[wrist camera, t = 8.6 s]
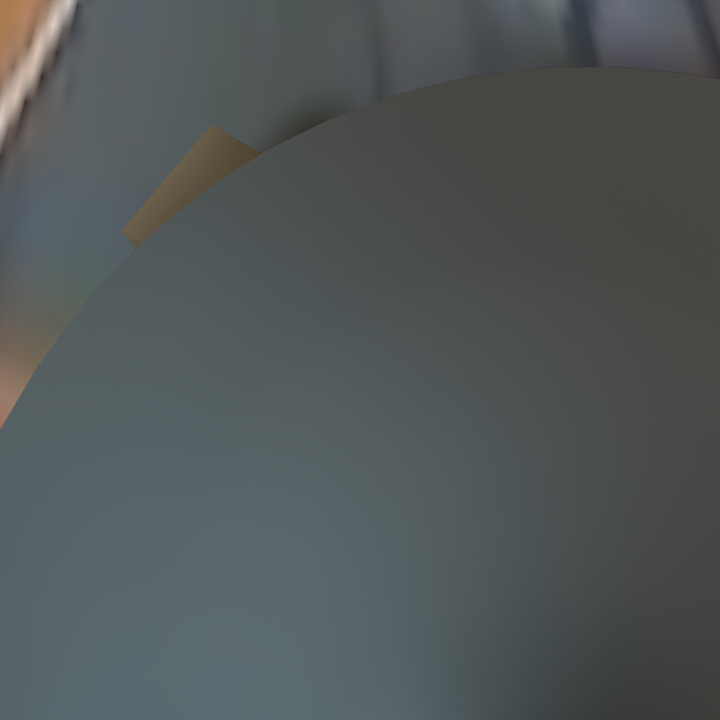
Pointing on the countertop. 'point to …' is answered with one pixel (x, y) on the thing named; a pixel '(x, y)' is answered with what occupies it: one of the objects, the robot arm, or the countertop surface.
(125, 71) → the countertop surface
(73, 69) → the countertop surface
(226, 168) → the walnut block
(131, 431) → the grey faceted cylinder
